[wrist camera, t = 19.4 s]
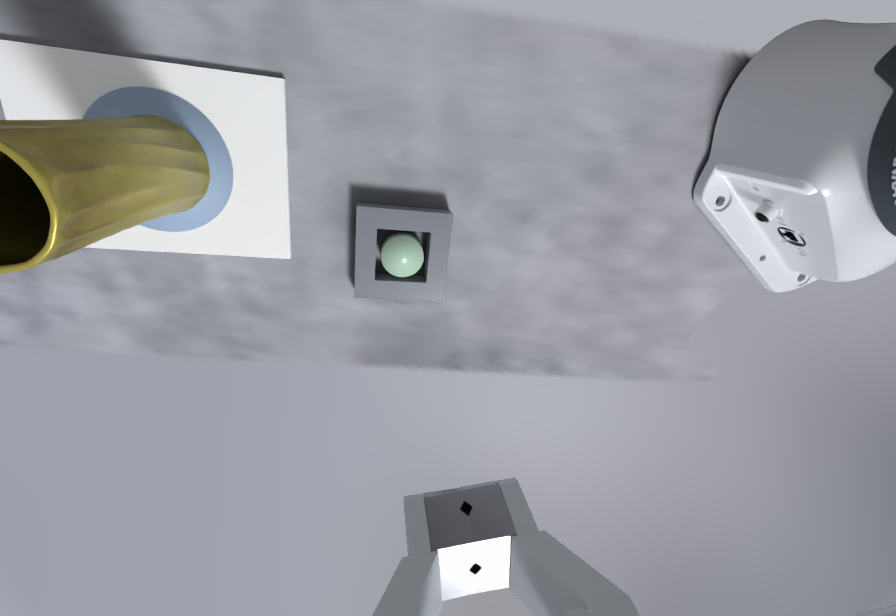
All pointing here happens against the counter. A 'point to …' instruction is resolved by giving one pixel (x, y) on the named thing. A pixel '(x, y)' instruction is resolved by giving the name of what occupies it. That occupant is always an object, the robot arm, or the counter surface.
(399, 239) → the button
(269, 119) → the paper pad
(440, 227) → the button collar
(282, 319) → the counter surface
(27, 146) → the vase
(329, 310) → the counter surface
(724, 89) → the counter surface
